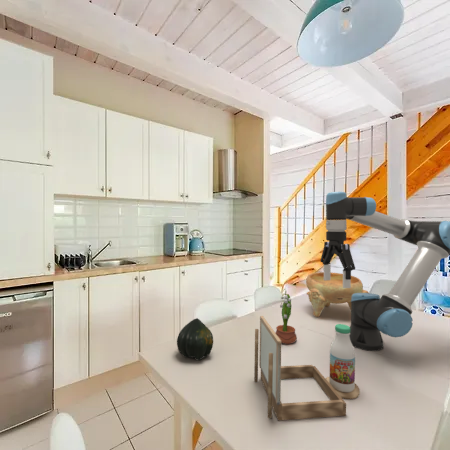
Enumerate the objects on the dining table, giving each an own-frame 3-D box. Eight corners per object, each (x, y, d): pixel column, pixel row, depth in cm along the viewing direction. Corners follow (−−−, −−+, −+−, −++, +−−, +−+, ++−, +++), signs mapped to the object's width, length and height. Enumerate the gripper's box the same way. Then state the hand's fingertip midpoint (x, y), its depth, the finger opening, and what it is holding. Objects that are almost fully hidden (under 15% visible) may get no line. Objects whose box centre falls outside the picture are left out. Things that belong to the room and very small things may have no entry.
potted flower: (297, 348, 117) (298, 291, 117) (274, 346, 119) (275, 290, 119) (295, 337, 128) (296, 285, 128) (274, 335, 130) (275, 284, 130)
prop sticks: (257, 380, 93) (258, 328, 92) (272, 418, 74) (273, 354, 74) (253, 380, 92) (254, 328, 92) (268, 418, 74) (269, 354, 74)
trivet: (347, 378, 95) (347, 375, 95) (367, 398, 84) (367, 395, 84) (317, 379, 93) (317, 376, 93) (334, 400, 82) (334, 397, 82)
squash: (188, 356, 97) (207, 318, 105) (164, 345, 108) (183, 311, 115) (209, 371, 105) (225, 335, 113) (185, 359, 115) (202, 326, 123)
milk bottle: (325, 379, 92) (326, 321, 92) (346, 378, 92) (347, 321, 92) (336, 393, 84) (337, 331, 84) (359, 392, 85) (360, 330, 85)
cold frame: (314, 375, 96) (314, 363, 96) (346, 415, 76) (346, 399, 76) (260, 378, 94) (260, 365, 94) (278, 420, 74) (278, 404, 74)
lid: (262, 366, 94) (262, 316, 94) (280, 404, 74) (281, 341, 74) (259, 366, 93) (260, 316, 93) (276, 405, 74) (277, 341, 74)
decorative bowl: (290, 306, 176) (291, 272, 176) (335, 303, 185) (336, 270, 185) (322, 326, 143) (323, 283, 143) (375, 320, 152) (375, 280, 152)
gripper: (312, 230, 118) (312, 277, 118) (346, 231, 93) (346, 292, 93) (327, 229, 119) (328, 277, 119) (365, 231, 94) (366, 291, 95)
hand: (336, 283), depth 106 cm, fingers open, 13 cm apart
